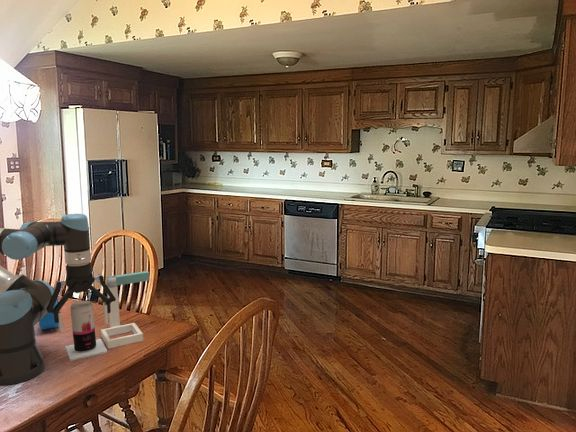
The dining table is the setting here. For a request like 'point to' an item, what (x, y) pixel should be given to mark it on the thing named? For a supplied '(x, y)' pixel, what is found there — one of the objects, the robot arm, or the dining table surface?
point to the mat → (78, 355)
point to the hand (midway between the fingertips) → (84, 327)
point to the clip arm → (127, 278)
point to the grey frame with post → (116, 327)
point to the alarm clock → (49, 320)
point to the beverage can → (83, 326)
